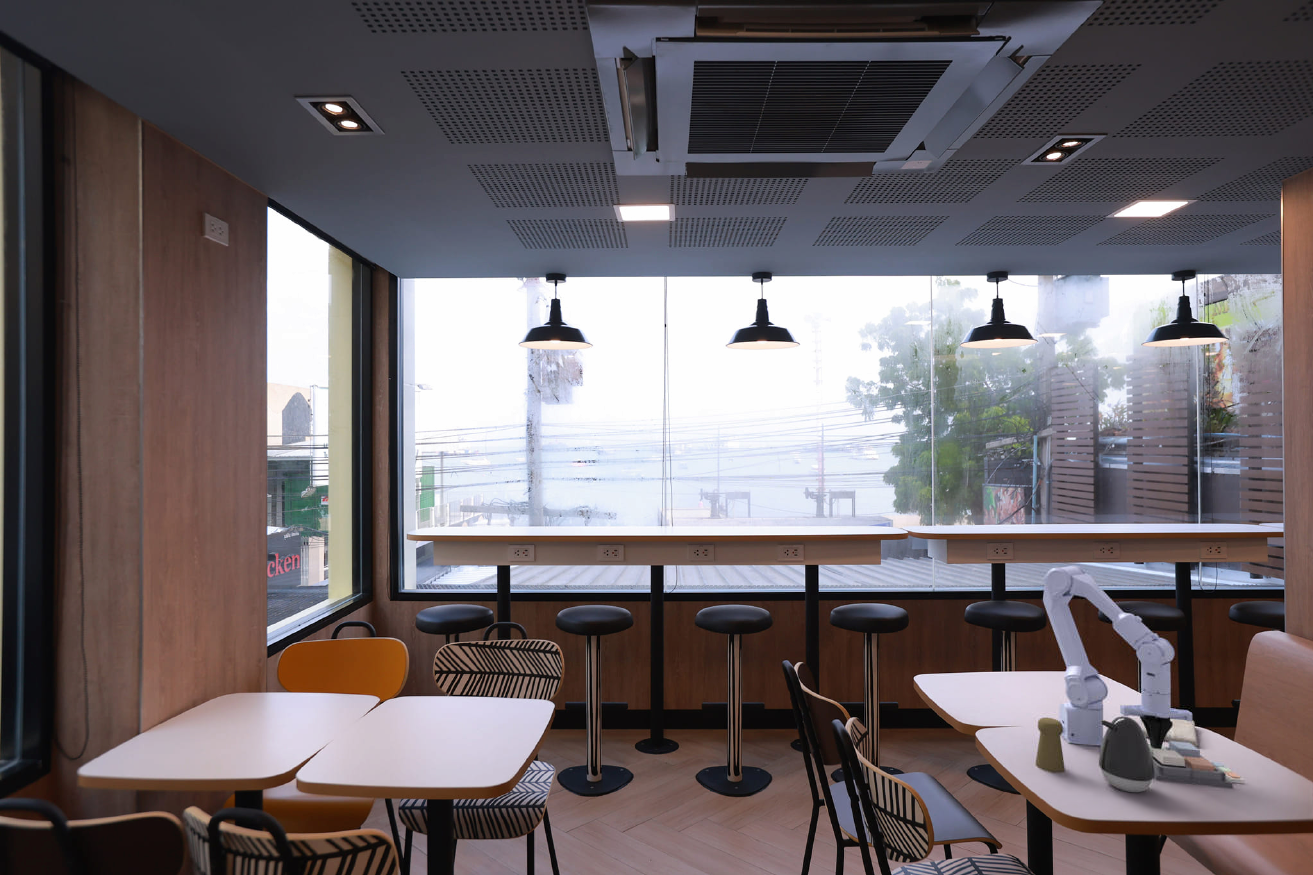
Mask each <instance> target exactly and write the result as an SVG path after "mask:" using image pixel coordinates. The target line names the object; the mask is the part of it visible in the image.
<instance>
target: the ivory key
mask: <svg viewBox="0 0 1313 875" xmlns="http://www.w3.org/2000/svg"><path fill="white" fill-rule="evenodd" d="M1153 756H1154V757H1155V758H1156V759H1157V760H1158V761H1160V762H1161V763H1162V764H1166V765H1176V766H1185V758H1184V757H1182V756H1181V755H1180V754H1178V753H1177V752H1176V751H1175V750H1164V749H1153Z"/></svg>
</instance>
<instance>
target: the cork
mask: <svg viewBox="0 0 1313 875" xmlns="http://www.w3.org/2000/svg"><path fill="white" fill-rule="evenodd" d="M1037 729H1038V731H1039V738H1038V745H1037V752H1036V758H1035V766H1036V767H1037V768H1039V769H1040V770H1043V771H1046V772H1049V773H1055V774H1056V773H1058V774H1060V773H1064V772H1065V771H1066V769H1065V761H1064V754H1063V747H1062V741H1061V740H1062V739H1061V736H1062V735H1061V734H1062V732H1063V726H1062V724H1061V722H1059V720H1058V719H1056V718H1053V717H1041V718H1039V719H1038V720H1037Z"/></svg>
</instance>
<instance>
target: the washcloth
mask: <svg viewBox="0 0 1313 875" xmlns="http://www.w3.org/2000/svg"><path fill="white" fill-rule="evenodd" d="M1170 721H1172V722H1173V726H1172V728H1171V729H1170V730H1169V731H1168V733H1167V735H1166V736H1165V739H1164V741H1163V742H1168V743H1169V741H1174V742H1185V743H1190V744H1192V745H1193V746H1195V747H1196V748H1197V747H1198V738H1197V734H1196V733H1197V731H1196V724H1195V721H1194V720H1192V722H1191V721H1186V720H1178V719H1170ZM1141 725H1142V727H1141V729H1142V730H1143V732H1144V734H1145V737H1146V739H1149V737H1148V734H1147V731H1146V728H1145V726H1144V724H1143V722H1142V721H1141Z"/></svg>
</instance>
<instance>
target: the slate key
mask: <svg viewBox="0 0 1313 875" xmlns="http://www.w3.org/2000/svg"><path fill="white" fill-rule="evenodd" d="M1168 747H1169V749H1170V750H1175V751H1176V752H1177V753H1178V754H1180V755H1181V756H1186V757H1197V758H1200V755H1201V750H1200V749H1198V748H1197V747H1195V746H1193V745H1192V744H1190V743H1185V742H1174V741H1169V742H1168Z"/></svg>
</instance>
